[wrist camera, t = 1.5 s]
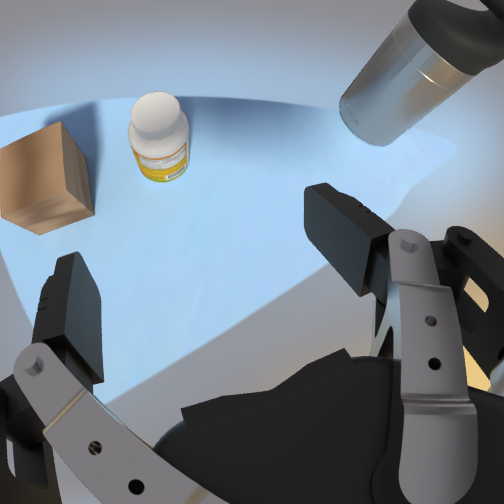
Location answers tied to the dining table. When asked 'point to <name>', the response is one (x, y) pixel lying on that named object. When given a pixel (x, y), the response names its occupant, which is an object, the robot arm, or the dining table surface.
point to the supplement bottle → (159, 137)
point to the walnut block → (44, 181)
